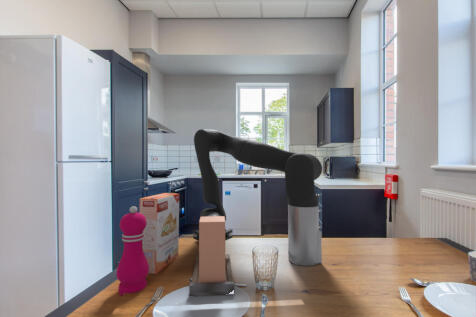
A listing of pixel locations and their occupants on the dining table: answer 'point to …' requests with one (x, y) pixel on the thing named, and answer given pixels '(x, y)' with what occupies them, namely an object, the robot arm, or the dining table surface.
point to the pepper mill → (132, 253)
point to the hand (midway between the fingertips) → (212, 242)
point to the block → (212, 249)
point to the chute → (212, 287)
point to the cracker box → (160, 229)
